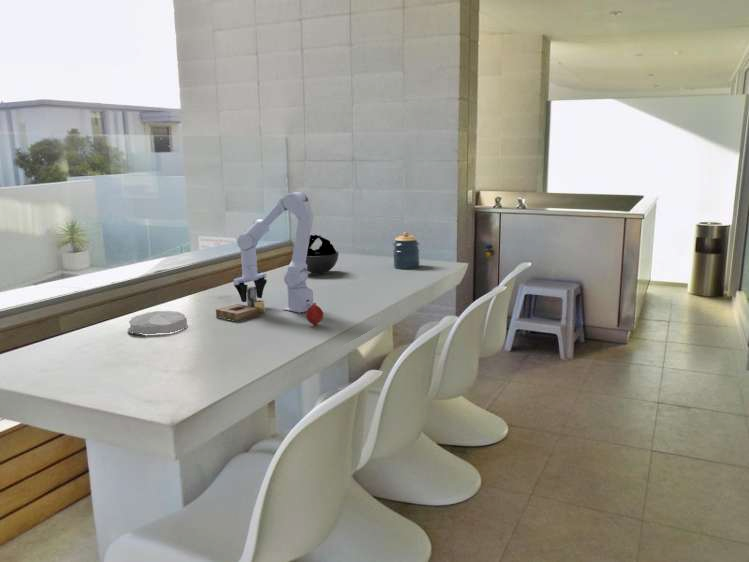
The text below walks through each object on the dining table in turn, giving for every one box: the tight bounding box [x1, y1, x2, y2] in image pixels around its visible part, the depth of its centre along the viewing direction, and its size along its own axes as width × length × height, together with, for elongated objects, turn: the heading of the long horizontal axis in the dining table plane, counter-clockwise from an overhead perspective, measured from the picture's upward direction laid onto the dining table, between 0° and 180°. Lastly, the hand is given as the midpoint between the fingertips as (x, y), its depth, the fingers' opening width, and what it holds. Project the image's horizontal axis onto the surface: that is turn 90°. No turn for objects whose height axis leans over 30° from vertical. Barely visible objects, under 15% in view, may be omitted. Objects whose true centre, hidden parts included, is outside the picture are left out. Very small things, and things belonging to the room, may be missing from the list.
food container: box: [127, 310, 189, 334], centre depth 229 cm, size 20×20×7 cm
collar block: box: [215, 303, 260, 322], centre depth 241 cm, size 12×10×3 cm
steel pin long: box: [246, 286, 258, 307], centre depth 254 cm, size 4×4×8 cm
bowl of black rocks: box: [306, 234, 340, 275], centre depth 317 cm, size 20×20×19 cm
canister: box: [392, 231, 420, 270], centre depth 327 cm, size 13×13×18 cm
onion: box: [305, 302, 324, 326], centre depth 225 cm, size 6×6×8 cm
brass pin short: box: [254, 300, 266, 315], centre depth 245 cm, size 4×4×4 cm
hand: (251, 299), depth 254 cm, fingers open, 7 cm apart
